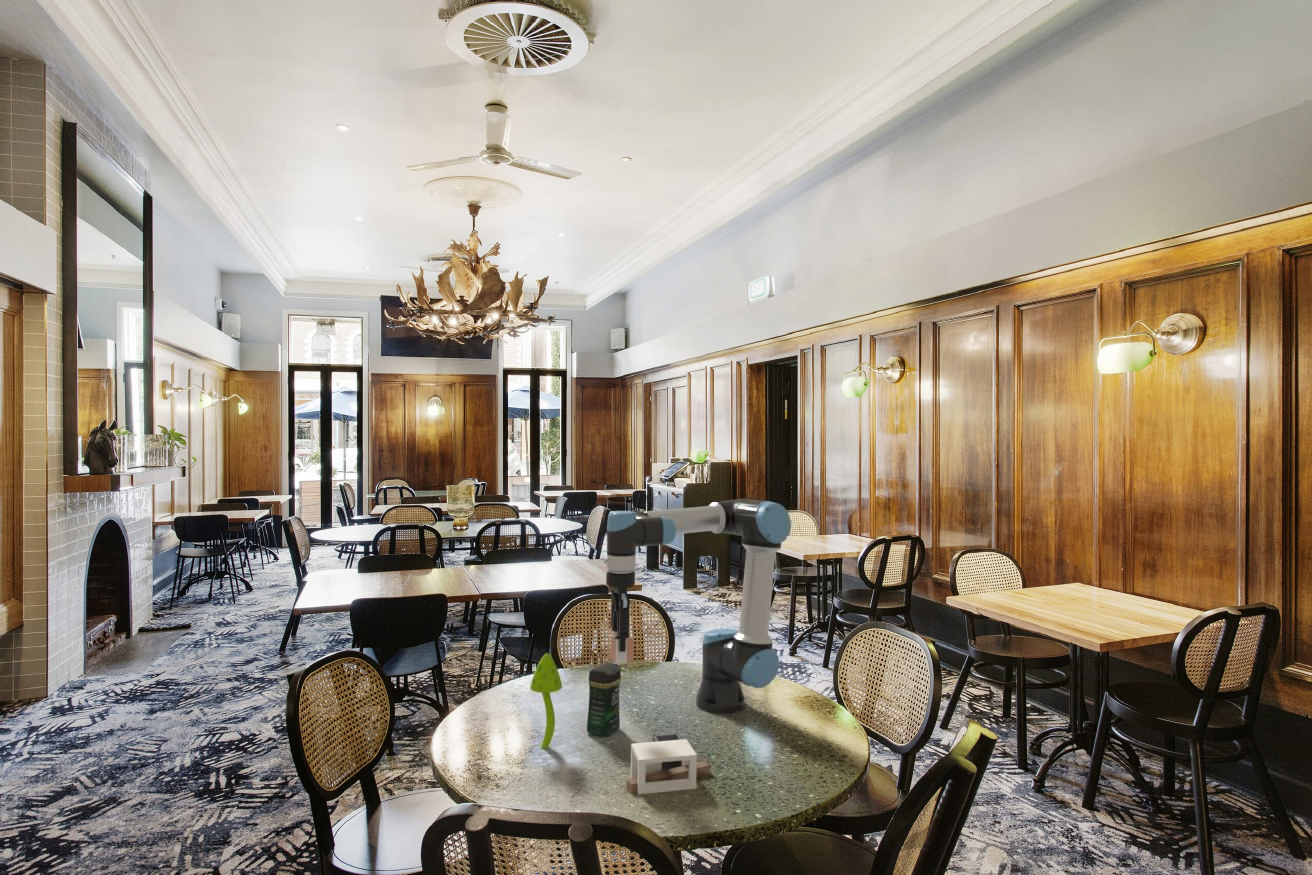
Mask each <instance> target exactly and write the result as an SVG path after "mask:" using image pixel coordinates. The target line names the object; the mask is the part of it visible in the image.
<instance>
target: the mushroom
mask: <svg viewBox="0 0 1312 875" xmlns="http://www.w3.org/2000/svg"><path fill="white" fill-rule="evenodd" d="M555 663H556V662H555V661H554V660H553V657H552V656H551V655H550V654H549V653H547V652H546V653H545V654H544V655H543V656H542V657H541V659H540V661H539V662H538V664H537V667H536V668H535V671H534V673H533V677H532V680H531V682H530V685H529V689H530V690H531V691H532V692H535V693H541V695H542V698H543V702H544V708H545V715H546V716H545V717H546V722H545V723H546V725H545V731H544V736H543V739H542V740H543V741H542V744H541V749H545V750H546V749H548V748H549V746H550V744H551V741H552V738H553V735H554V734H555V733H554V732H555V729H556V728H555V727H556V726H555V725H556V717H555V710H554V705H553V701H552V697H551V694H550V693H554V692H557V691H560V690H561V689H563V684H562V681H561V680H562V679H561V676H560V672H559V671H558V667H557V665H556V664H555Z"/></svg>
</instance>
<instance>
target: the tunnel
mask: <svg viewBox="0 0 1312 875" xmlns="http://www.w3.org/2000/svg"><path fill="white" fill-rule="evenodd" d="M697 756H698V754H697V753H696V752H695V750H694V749H693V747H692V744H690V743H689V741H688V739H686V738H684V739H683V738H682V737H681V735H680V734H679V733H678V732H677V733H676V732H675V733H667V734H666V733H664V734H653V735H652V741H648V742H647V741H646V742H636V743H630V779H631V778H636V777H637V792H636V793H637V795H647V794H655V793H667V792H676V791H685V790H686V791H687V790H696V789H697V777H696V769H697V763H698V761H697V760H698V759H697V758H698V757H697ZM685 765H689V771H688V778H687V779H677V780H667V781H657V782H647V783H645V775H648V774H652V773H656V772H660V771H665V770H669V769H673V768H677V767H681V766H685Z"/></svg>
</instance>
